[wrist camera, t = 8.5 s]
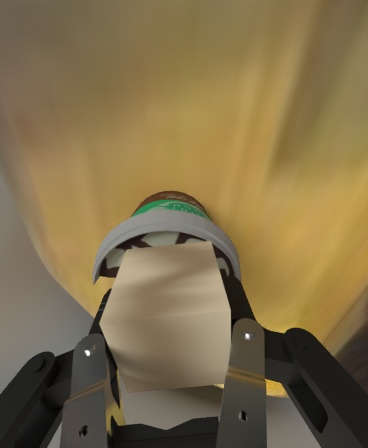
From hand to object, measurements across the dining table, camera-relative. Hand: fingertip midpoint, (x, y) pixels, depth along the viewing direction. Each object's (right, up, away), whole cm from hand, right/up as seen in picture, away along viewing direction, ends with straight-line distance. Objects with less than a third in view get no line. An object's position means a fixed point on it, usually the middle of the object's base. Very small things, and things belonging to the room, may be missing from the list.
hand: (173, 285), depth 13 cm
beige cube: (0, 0, +1) cm, 1 cm away
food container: (0, +6, +11) cm, 13 cm away
